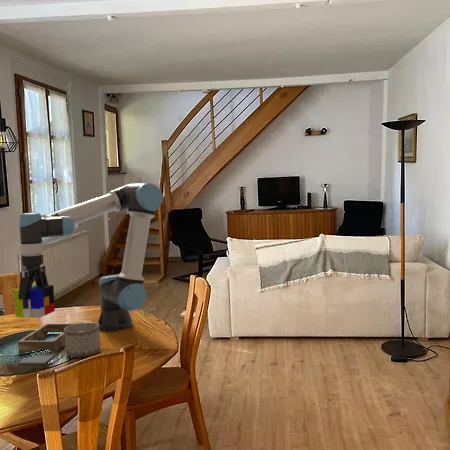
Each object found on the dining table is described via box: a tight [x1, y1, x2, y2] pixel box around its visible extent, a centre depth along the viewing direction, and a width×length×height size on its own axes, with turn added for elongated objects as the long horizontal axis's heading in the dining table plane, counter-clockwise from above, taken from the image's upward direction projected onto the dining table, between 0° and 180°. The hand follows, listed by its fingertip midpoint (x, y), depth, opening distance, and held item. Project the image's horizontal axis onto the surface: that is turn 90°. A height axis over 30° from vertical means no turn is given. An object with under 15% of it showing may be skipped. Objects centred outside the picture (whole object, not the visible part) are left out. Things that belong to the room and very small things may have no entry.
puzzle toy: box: [13, 284, 56, 319], centre depth 188 cm, size 10×10×10 cm
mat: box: [18, 352, 58, 365], centre depth 186 cm, size 10×10×1 cm
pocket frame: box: [17, 322, 76, 354], centre depth 204 cm, size 23×14×4 cm, turn 173°
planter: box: [64, 321, 101, 358], centre depth 190 cm, size 13×13×10 cm
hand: (35, 313), depth 188 cm, fingers closed on puzzle toy, 10 cm apart
